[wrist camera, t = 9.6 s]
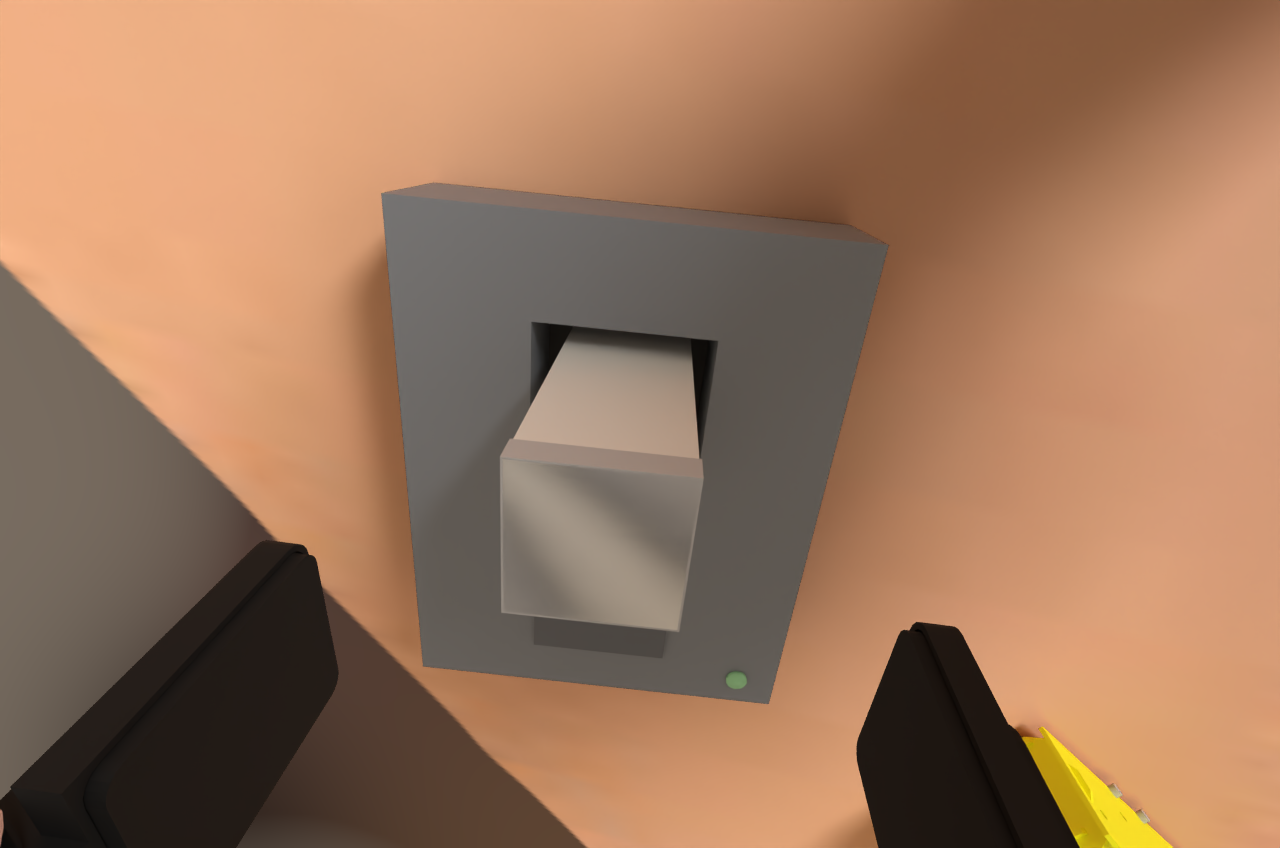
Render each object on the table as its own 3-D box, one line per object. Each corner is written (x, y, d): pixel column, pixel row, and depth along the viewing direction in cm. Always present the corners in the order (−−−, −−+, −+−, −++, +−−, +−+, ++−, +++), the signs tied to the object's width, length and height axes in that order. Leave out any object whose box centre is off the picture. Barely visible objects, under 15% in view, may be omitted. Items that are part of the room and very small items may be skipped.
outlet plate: (433, 182, 20) (379, 193, 17) (850, 225, 20) (890, 245, 16) (455, 598, 28) (421, 669, 24) (756, 630, 28) (769, 707, 24)
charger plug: (574, 319, 21) (499, 456, 12) (691, 331, 21) (703, 478, 12) (569, 424, 23) (501, 612, 14) (677, 436, 23) (678, 631, 14)
